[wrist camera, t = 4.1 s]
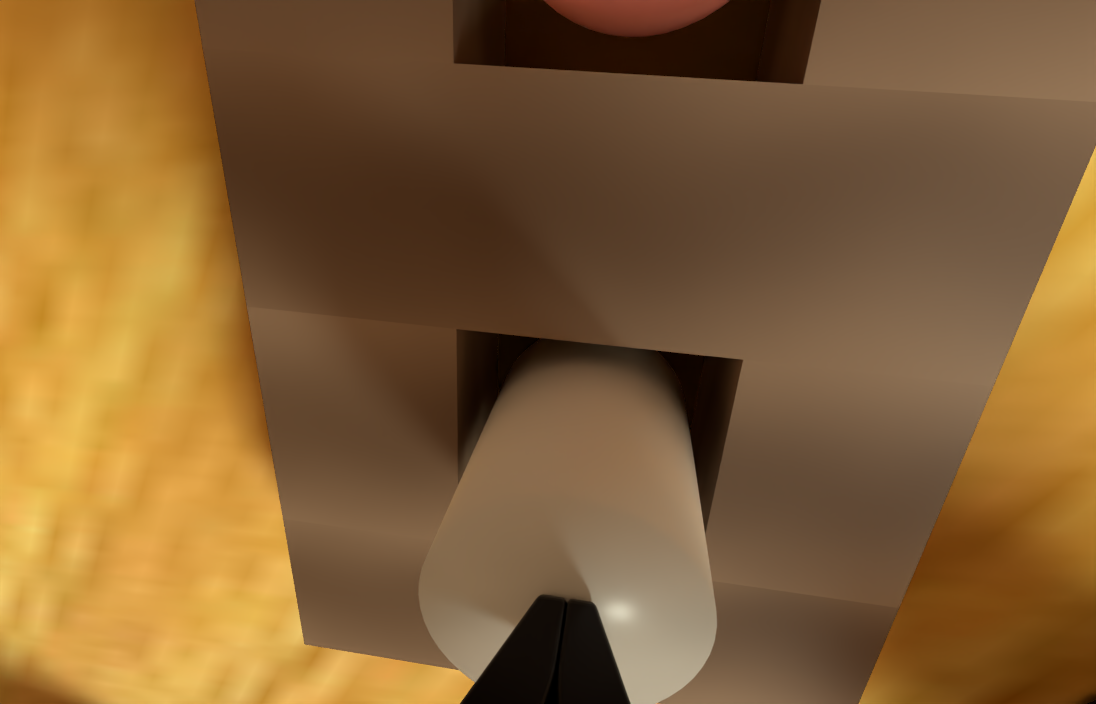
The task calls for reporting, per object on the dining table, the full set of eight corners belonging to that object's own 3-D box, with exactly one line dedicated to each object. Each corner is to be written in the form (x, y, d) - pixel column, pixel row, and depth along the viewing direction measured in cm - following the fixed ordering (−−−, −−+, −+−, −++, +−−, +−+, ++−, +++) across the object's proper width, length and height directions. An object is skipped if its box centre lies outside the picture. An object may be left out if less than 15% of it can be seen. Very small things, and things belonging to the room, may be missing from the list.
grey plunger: (671, 497, 15) (690, 736, 9) (499, 475, 15) (423, 691, 10) (700, 337, 13) (745, 521, 8) (503, 316, 13) (412, 476, 8)
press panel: (803, 604, 18) (845, 734, 14) (366, 540, 19) (304, 644, 16) (1231, -689, 8) (1723, -1329, 4) (253, -627, 9) (12, -1070, 6)
